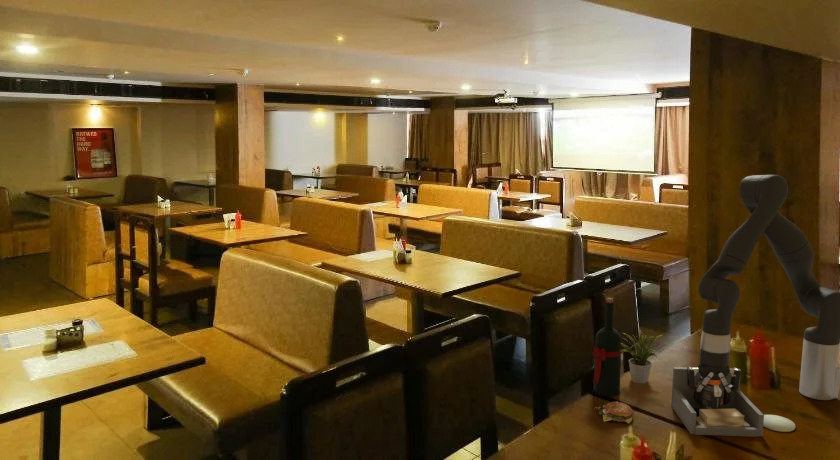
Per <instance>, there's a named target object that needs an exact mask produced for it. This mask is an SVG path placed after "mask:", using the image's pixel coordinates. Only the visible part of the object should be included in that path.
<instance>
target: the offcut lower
mask: <svg viewBox="0 0 840 460" xmlns="http://www.w3.org/2000/svg"><path fill="white" fill-rule="evenodd" d="M696 426H707V425H706V424H705V423H704V422H703V421H702V420H701V419H700V418H699V416H696ZM711 426H725V427H750V425H749V424H748V423H747V422H746V421H745V420H744V425H711Z"/></svg>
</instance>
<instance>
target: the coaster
mask: <svg viewBox="0 0 840 460" xmlns="http://www.w3.org/2000/svg"><path fill="white" fill-rule="evenodd" d="M763 415H764V422H763V428H765V429H768V430H771V431H774V432H775V431H776V432H781V433H782V432H783V433H789V432H793V431H795V429H796V424H795V422H793V420H791V419H789V418H786V417H784V416H781V415H775V414H763Z"/></svg>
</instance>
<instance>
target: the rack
mask: <svg viewBox="0 0 840 460" xmlns="http://www.w3.org/2000/svg"><path fill="white" fill-rule="evenodd" d="M737 369H738V370H739V371H740V372H742V370H741V369H740V368H737ZM741 374H742V373H741ZM741 374H740V377H741ZM700 375H701V374H700V373H699V372H697V373H696V375H695V376H694V382H695V383H696V382H697V379H698V378H699V376H700ZM731 377H732V376H731V374H730V373H729V374H728V375H727V376H726V378H725V379H726V381H727V383H728V385H730V384H731ZM720 385H721V386H722V384H720ZM722 387H723V386H722ZM671 388H672V389H671V407H672V409H673V410H674V412H675V414H676V415H677V416H678V418H679V419H680V421H681V423H682V424H683V425H684V426H685V428H686V430H687V431H688V432H689V434H691V435H699V436H700V435H701V436H723V437H725V436H726V437H727V436H728V437H751V438H752V437H754V438H755V437H763V433H764V427H763V422H764V415H765V414H763V412H761V410H760V409H759V408H758V407H757V406H756V405H755V404H754V403H753V402H752V401H751V400H750V399H749V398H748V397H747V396H746V395H745V394H744V393H743V392H742V391H741V389H740V388H741V379H740V380H739V386H738V390H737V391H735V390H734V391H731V393H730V402H729V403H728V404H727V405H724V404H723V409H736V410H738V411H739V412H740V413H741V414H742V415H744V420H745V421H746V422H747V423H748V424H749V425H750V427H725V426H696V417H697V412H696V410H695V409H700V404H698V403H697V402H696V401H695V400H694V390H692V389H690V387H689V386H688V385H687V367H685V366H684V367H679V366H677V367H676V366H674V367H673V369H672V386H671Z"/></svg>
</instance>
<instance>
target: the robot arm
mask: <svg viewBox="0 0 840 460" xmlns="http://www.w3.org/2000/svg"><path fill="white" fill-rule="evenodd" d="M738 193H739V196H740V200H741V202H742V203H743V205H744V207H745V208H746V210H747V211H748V212H749V213H750V216H749V217H748V218H747V219H746V220H745V221H744V222H743V223H742V224H741V225H740V226H739V227H738V228H737V229H736V230H734V231H733V233H731V235H730V236H729V237H728V239H727V240H726V242H725V244H724V245H723V246H722V250H721V252H720V253H719V257H718V258H717V260H716V261H715V262H714V263H713V264H712V266H711V267H710V268H709V269H708V270H707V271H706V272H705V274H704V275H703V276H702V277H701V279H700V280H699V283H698V287H697V288H698V289H697V290H698V295H699V297H700V298H702V299H703V300H704V301H705V300H706V301H709V302H712V303H717V304H718V307H717V308H716V309H715V308H714V309H713V308H712V309H707V310H705V311H704V313H703V315H702V316H703V317H702V330H701V335H700V343H699V344H700V345H699V346H700V347H699V348H700V349H699V364H698V366H697V367H691V366H686V368H687V385H688V386H689V387H690V389H692V390H694V400H695V401H696V402H697V403H698V404H701V395H702V392H701V390H702V388H703V387H704V386H706V384H707V383H708V381H709V380H721V384H722V386H723V388H724V398H723V404H724V405H727V404H728V403H729V402H730V393H731V391H734V390H735V391H737V390H738V386H739V380H740V381H741V376H740V374H742V373H741V372H742V371H741V372H740V371H739V370H738V369H739V368H737V367H731V368H730V367H729V366H730V365H729V364H730V355H731V354H730V353H731V348H732V346H731V327H732V326H731V325H732V318H733V315H734V312H735V310H736V307H737V305H738V303H739V300H740V296H741V289H740V286H739V284H738V283H737V282H736V281H734V280H732V279H728V278H727V277H729V276H735V275H736V276H737V275H741V274H742V273H743V272H744V270H745V267H746V266H747V264H748V262H749V259H750V258H751V255H752V253H753V251H754V249H755V246H756V245H757V243H758V241H759V240H760V239H761V236H762V235H763V234H764V236H765V238H766V239H767V241H768V243H769V245H770V246H771V250H772V251H773V252H774V254H775V256H776V258H777V260H778V262H779V263H780V264H781V266H782V268H783V270H784V271H785V275H786V276H787V277H788V279H789V281H790V283H791V285H792V287H793V290H794V293H795V295H796V298H797V301H798V303H799V305H800V308H801V309H802V310H803V311H804V312H805V313H806V314H808V315H810V316H811V317H815V318H818V323H817V326H810V327H807V328H805V330H804V332H803V341H802V354H801V364H800V376H799V384H798V385H799V386H798V388H799V389H798V391H799V393H800V394H801V395H803V396H805V397H806V398H810V399H813V400H820V401H831V400H834V399H838V398H839V389H840V367H839V355H840V291H837V290H835V289H830V288H828V287H824V286H823V285H821V284H820V283H819V281H818V280H817V278H816V276H815V275H814V274H815V273H814V272H813V265H814V263H815V262H814V261H815V252H814V249H813V246H811V245H812V244H811V243H810V242H809V240H808V238H807V236H806V234H805V232H803V230H801V229H800V228H799V227H798V226H797V225H796V224H795V223H793V222H792V221H790V220H789V219H788V218H786V217H785V216H784V215H783V214H781V213H780V212H779V210H780V209H781V207H782V206H783V204H784V203H785V202H786V199H787V197H788V193H789V185H788V182H787V181H786V179H785V178H784V177H783V176H781V175H779V174H757V175H756V174H755V175H748V176H746V177H743V178H742V179H741V181H740V183H739V187H738ZM697 372H699V373H700V374H701V375H700V376H699V378H698V379H697V382H696V383H695V382H694V376H695V375H696V373H697ZM729 373H730V374H731V376H732V377H731V384H730V385H728V383H727V381H726V379H725V378H726V376H727V375H728V374H729Z"/></svg>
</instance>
